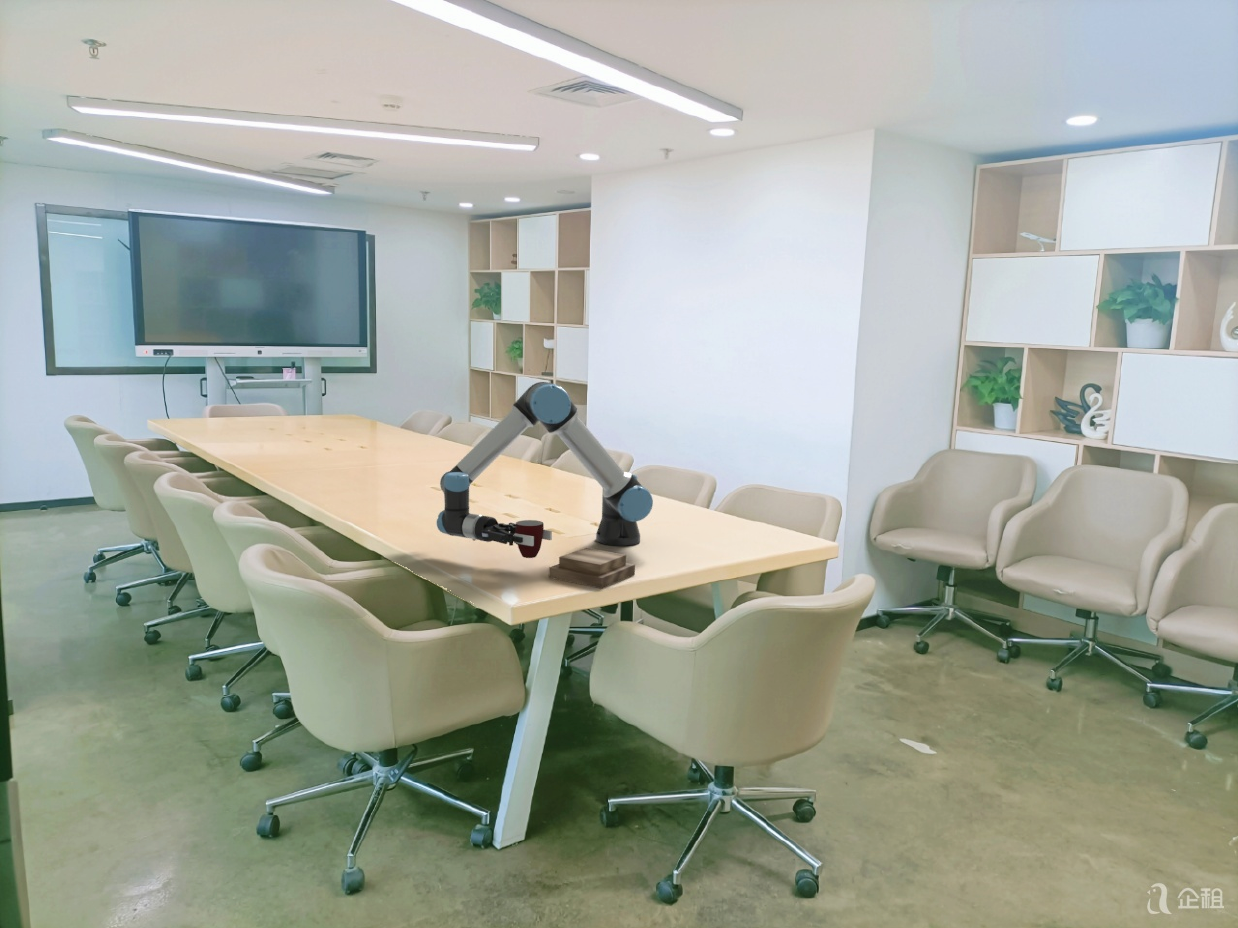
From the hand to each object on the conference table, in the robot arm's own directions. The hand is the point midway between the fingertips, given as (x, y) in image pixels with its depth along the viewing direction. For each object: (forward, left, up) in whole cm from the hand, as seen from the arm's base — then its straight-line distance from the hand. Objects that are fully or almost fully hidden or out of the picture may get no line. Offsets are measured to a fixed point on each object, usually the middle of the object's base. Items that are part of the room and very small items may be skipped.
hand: (542, 538), depth 249 cm
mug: (0, -6, -6) cm, 8 cm away
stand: (-8, +12, -11) cm, 18 cm away
